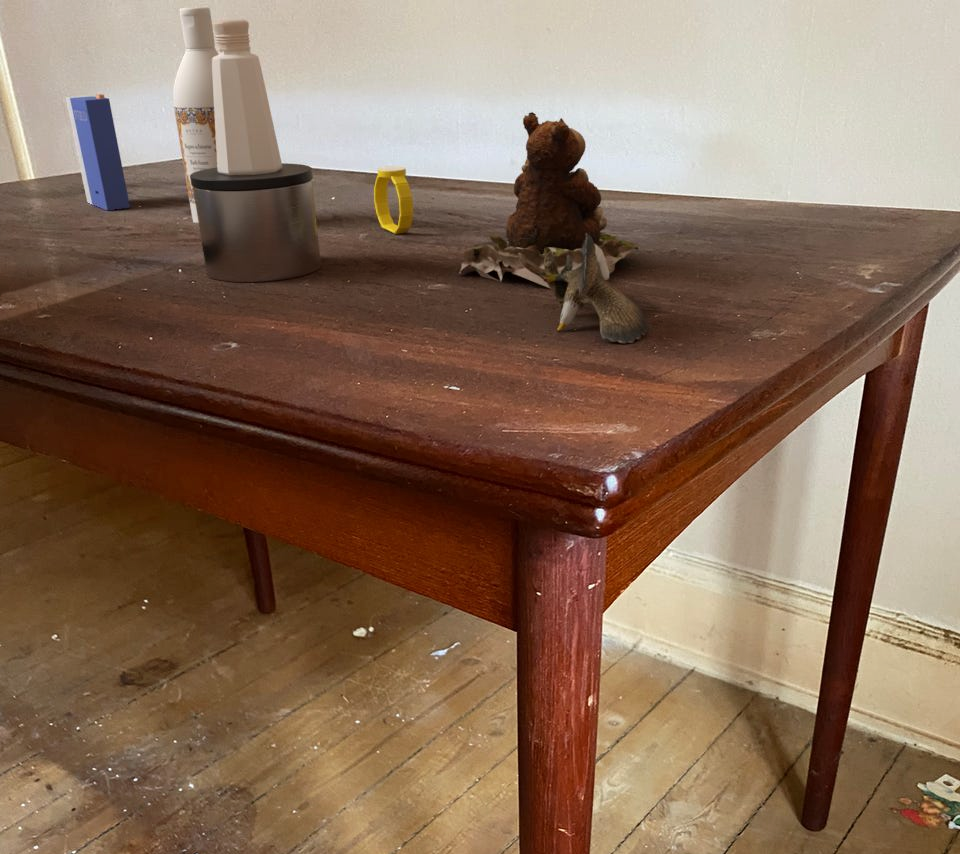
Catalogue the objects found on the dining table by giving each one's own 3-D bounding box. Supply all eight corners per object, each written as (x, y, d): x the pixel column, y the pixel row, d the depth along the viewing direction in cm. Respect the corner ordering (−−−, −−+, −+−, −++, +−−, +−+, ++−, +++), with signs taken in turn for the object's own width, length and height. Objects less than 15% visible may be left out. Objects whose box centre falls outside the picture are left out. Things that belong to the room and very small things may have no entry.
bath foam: (180, 229, 111) (143, 9, 100) (217, 217, 116) (184, 8, 106) (236, 231, 109) (204, 7, 98) (271, 219, 114) (243, 6, 104)
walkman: (130, 208, 124) (108, 94, 118) (107, 211, 123) (84, 96, 117) (109, 200, 130) (87, 92, 124) (87, 203, 129) (63, 93, 122)
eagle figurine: (494, 308, 73) (563, 310, 66) (533, 211, 73) (607, 201, 65) (576, 354, 77) (649, 360, 70) (614, 262, 77) (692, 258, 69)
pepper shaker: (247, 165, 91) (227, 19, 86) (295, 168, 89) (278, 17, 83) (204, 174, 88) (180, 21, 82) (254, 177, 85) (233, 19, 79)
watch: (369, 229, 108) (364, 166, 104) (393, 225, 109) (389, 163, 106) (396, 237, 103) (391, 172, 100) (421, 234, 104) (417, 169, 101)
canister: (181, 277, 91) (163, 177, 87) (254, 254, 98) (241, 161, 94) (276, 286, 87) (262, 182, 82) (344, 261, 94) (335, 165, 90)
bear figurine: (671, 261, 90) (680, 102, 83) (556, 295, 81) (557, 120, 75) (552, 243, 98) (552, 98, 92) (435, 272, 89) (427, 113, 83)
